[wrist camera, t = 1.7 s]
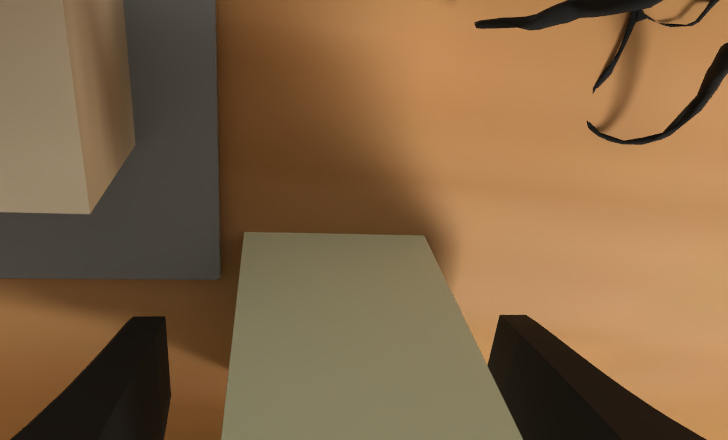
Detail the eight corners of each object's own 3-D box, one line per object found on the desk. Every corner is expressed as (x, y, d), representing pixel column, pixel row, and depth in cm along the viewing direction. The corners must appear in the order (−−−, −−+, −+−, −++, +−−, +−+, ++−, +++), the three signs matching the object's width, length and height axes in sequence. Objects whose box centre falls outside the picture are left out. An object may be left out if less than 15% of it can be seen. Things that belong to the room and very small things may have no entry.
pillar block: (402, 372, 15) (472, 619, 9) (243, 375, 14) (224, 643, 9) (423, 234, 13) (525, 443, 8) (244, 231, 12) (219, 456, 7)
